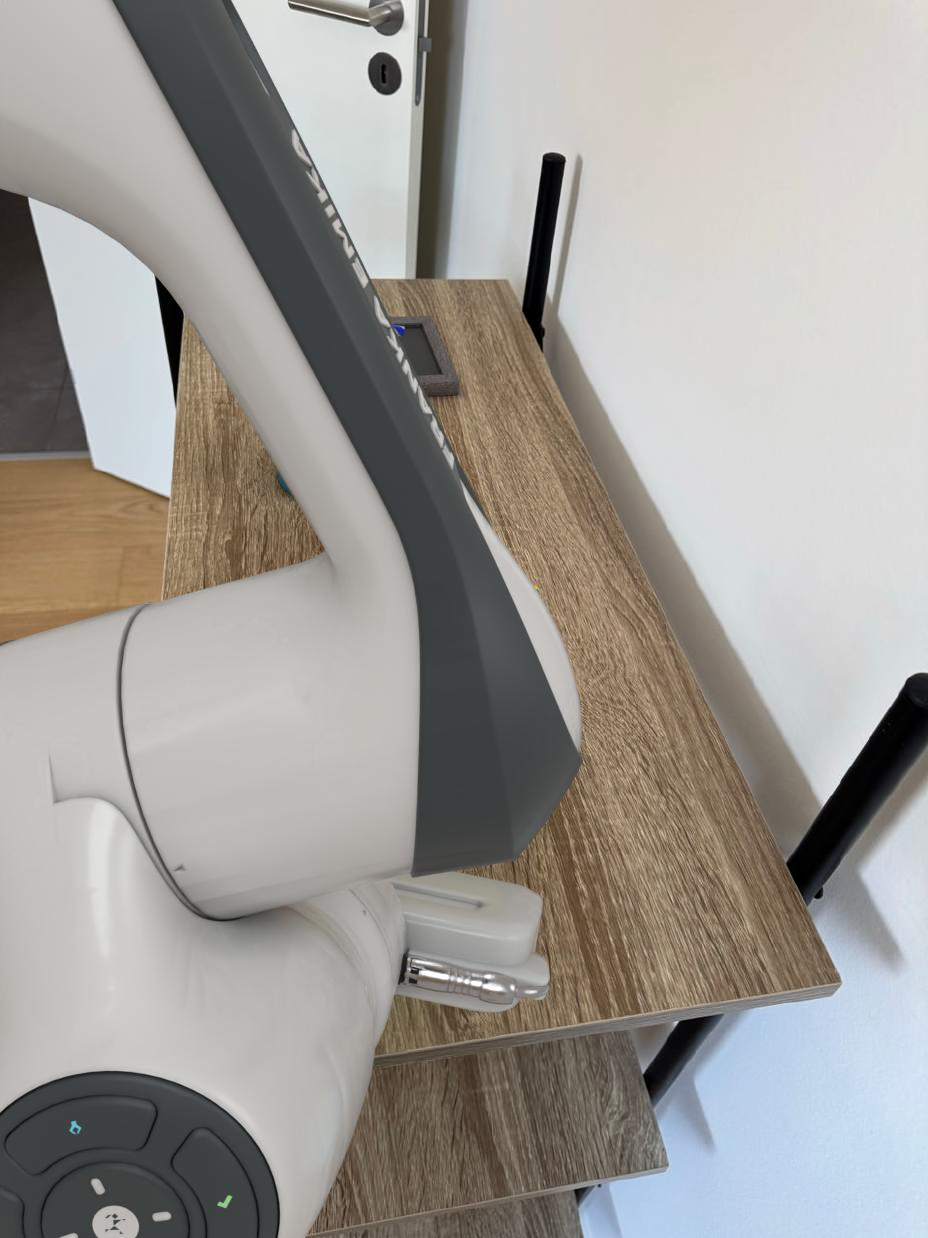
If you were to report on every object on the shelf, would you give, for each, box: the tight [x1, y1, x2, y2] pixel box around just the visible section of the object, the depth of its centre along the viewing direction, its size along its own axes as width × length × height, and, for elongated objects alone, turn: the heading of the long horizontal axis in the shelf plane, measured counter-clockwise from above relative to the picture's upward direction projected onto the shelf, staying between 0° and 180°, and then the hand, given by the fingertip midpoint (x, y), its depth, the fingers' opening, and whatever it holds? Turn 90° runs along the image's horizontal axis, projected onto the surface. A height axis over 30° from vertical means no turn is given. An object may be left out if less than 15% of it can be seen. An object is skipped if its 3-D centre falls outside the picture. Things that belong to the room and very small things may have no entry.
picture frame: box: [389, 315, 461, 397], centre depth 94 cm, size 13×2×18 cm
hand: (350, 855), depth 49 cm, fingers closed on candle, 5 cm apart
